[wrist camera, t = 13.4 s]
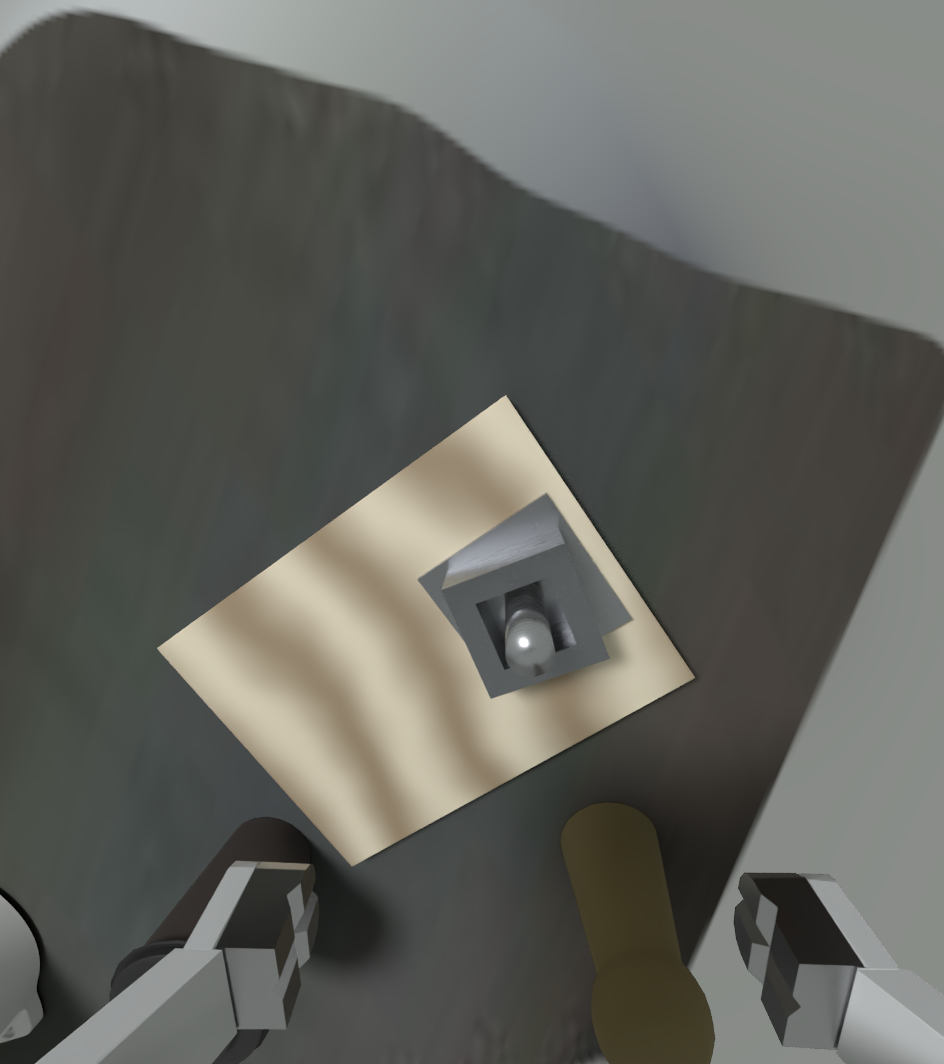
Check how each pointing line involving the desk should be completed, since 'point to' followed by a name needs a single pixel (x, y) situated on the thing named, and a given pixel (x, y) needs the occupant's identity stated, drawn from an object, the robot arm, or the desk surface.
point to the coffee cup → (246, 844)
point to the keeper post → (531, 589)
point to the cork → (633, 941)
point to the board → (408, 651)
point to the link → (508, 572)
